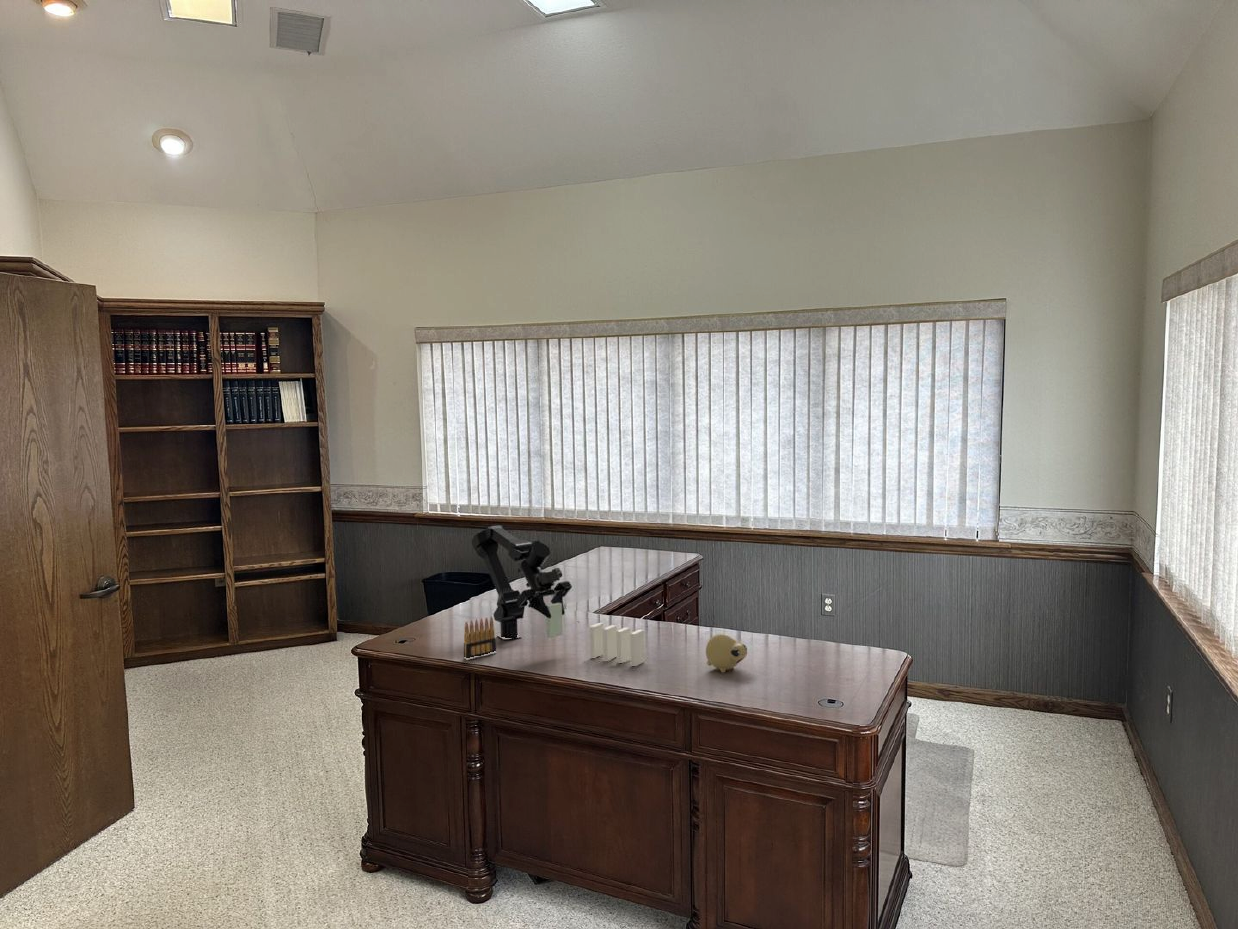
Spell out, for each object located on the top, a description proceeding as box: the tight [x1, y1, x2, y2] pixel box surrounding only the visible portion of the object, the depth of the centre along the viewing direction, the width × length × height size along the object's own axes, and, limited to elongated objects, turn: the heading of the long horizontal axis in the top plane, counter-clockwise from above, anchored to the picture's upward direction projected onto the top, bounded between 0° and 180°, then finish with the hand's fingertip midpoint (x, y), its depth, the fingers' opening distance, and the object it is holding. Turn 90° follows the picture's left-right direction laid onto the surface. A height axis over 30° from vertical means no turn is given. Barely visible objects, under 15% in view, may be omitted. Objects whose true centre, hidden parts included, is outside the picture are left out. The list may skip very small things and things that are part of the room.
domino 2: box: [588, 622, 604, 658], centre depth 268 cm, size 2×5×10 cm, turn 146°
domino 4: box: [616, 626, 631, 663], centre depth 262 cm, size 2×5×10 cm, turn 146°
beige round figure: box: [705, 633, 748, 674], centre depth 252 cm, size 10×12×11 cm
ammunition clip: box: [463, 615, 497, 658], centre depth 271 cm, size 11×2×12 cm, turn 128°
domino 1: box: [545, 603, 563, 639], centre depth 270 cm, size 2×5×10 cm, turn 134°
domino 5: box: [630, 629, 645, 667], centre depth 260 cm, size 2×5×10 cm, turn 146°
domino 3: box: [602, 624, 617, 661], centre depth 265 cm, size 2×5×10 cm, turn 146°
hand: (557, 616), depth 269 cm, fingers closed on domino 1, 5 cm apart
